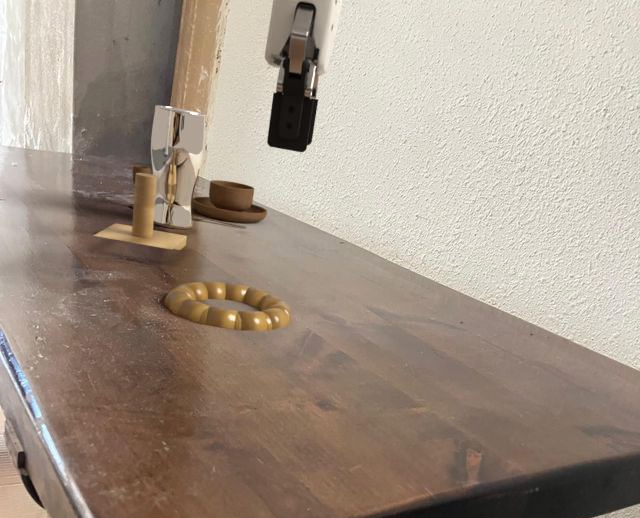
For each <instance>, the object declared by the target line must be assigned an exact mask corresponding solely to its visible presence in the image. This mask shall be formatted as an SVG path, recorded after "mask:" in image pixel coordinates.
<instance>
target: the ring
mask: <svg viewBox="0 0 640 518" xmlns="http://www.w3.org/2000/svg"><path fill="white" fill-rule="evenodd" d="M204 300H227V301H232V302H236V303H237V302H238V303H243V304H246V305H249V306H252V307H255V308H258V309H259V310H233V309H229V308H222V307H217V306H212V305H208V304H206V303H203V302H201V301H204ZM164 305H165V306H166V307H167V308H168V309H169V310H170V311H171V312H172V313H173V314H174V315H176V316H179V317H181V318H184V319H187V320H189V321H193V322H195V323H198V324H200V325H204V326H208V327H209V326H210V327H215V328H221V329H225V330H226V329H228V330H233V331H251V332H252V331H256V332H257V331H260V332H261V331H264V332H265V331H269V332H270V331H275V330H277V329H280V328H284V327H288V326H289V325H290V324H291V320H292V310H291V307H290V306H289V304H287V303H286V302H285V301H283V300H282V299H280V297H278V296H277V295H275V294H273V293H271V292H267V291H264V290H262V289H258V288H255V287H252V286H248V285H241V284H235V283H232V282H224V281H193V282H186V283H180V284H177V285H176V286H174V287H173V288H172V289H171V290H170V292H169V293H167V294H166V296H165V299H164Z"/></svg>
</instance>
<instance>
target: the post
mask: <svg viewBox="0 0 640 518" xmlns="http://www.w3.org/2000/svg"><path fill="white" fill-rule="evenodd" d="M156 185H157V176H155V175H153V174H151V173H150V174H146V173H136V180H135V184H134V195H133V196H134V198H133V204H134V208H133V211H132V225H127V224H123V223H113V224H112V225H109V226H108V227H106V228H103V230H101V231H99V232H97V233H95V234H93V237H99V238H103V239H109V240H115V241H121V242H126V243H132V244H137V245H143V246H149V247H154V248H160V249H166V250H171V251H172V250H177V251H182V249H184V247H186V246H187V238H188V237H187V235H182V234H178V233H172V232H166V231H162V230H155V229H154V224H153V223H154V211H155V198H156Z"/></svg>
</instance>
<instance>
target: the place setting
mask: <svg viewBox="0 0 640 518" xmlns="http://www.w3.org/2000/svg"><path fill="white" fill-rule="evenodd" d="M136 173H146V174H151V167H149V166H146V165H138V164H137V165H136V164H134V165H133V167H132V181H133V184H134V185H135V180H136ZM254 194H255V187H254V186H251V185H248V184H245V183H241V182H234V181H229V180H218V179H214V180H210V181H209V190H208V196H195V197H193V199H192V208H193V209H194V210H195V211H197V212H198V213H199V214H201V215H202V216H206V217H198V216H195V215H193V214H192V218H193V219H194V220H196V221H203V220H205V221H211V222H215V223H220V224H223V225H229V226H233V227H238V228H244V229H246V228H247V226H245V225H239V224H234V223H240V224H242V223H243V224H254V223H259V222H261V221H263V220H264V219H265V218H266V217H267V215H268V210H267V209H266V208H264V207H262V206H259V205H256V204H254V203H253V202H254ZM129 207H130V208H132V209H134V203H130V204H129ZM207 217H208V218H207ZM211 218H212V219H211ZM229 222H231V223H229ZM232 222H233V223H232Z"/></svg>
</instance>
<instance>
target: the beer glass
mask: <svg viewBox="0 0 640 518" xmlns="http://www.w3.org/2000/svg"><path fill="white" fill-rule="evenodd" d="M154 106H155V108H154V115H153V120H152V128H151V137H150V138H151V140H150V159H151V171H152V175H155V176H157V185H156V198H155V211H154V223H153V225H155V226H159V227H162V228H168V229H176V230H188V229H192V228H193V226H194V220H193V218H192V215H193V205H192V199H193V198H194V192H195V189H196V185H197V181H198V178H199V173H200V170H201V166H202V162H203V156H204V151H205V150H204V149H205V136H206V113H204V112H200V111H196V110H191V109H185V108H180V107H175V106H168V105H160V104H157V105H154Z"/></svg>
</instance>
